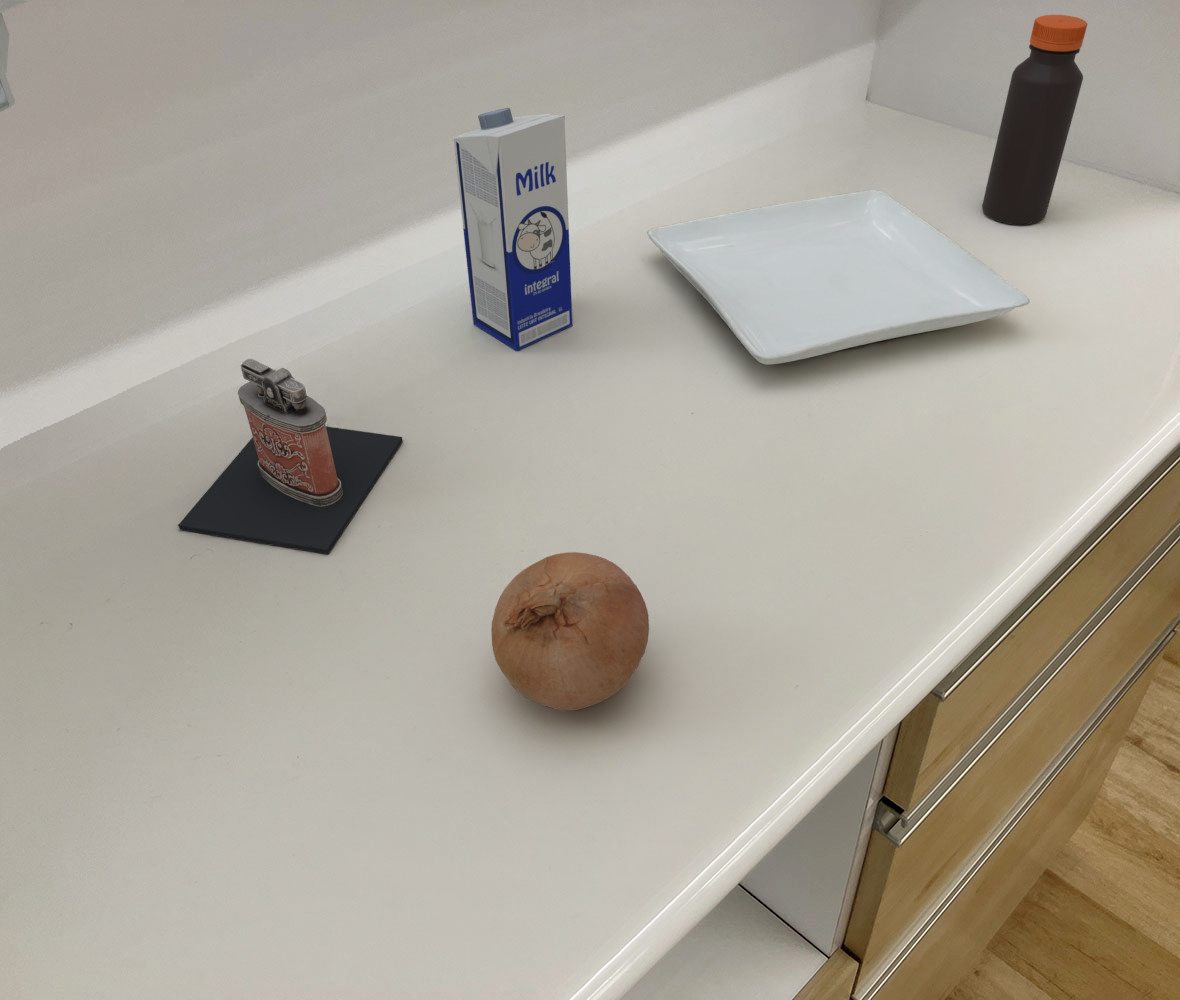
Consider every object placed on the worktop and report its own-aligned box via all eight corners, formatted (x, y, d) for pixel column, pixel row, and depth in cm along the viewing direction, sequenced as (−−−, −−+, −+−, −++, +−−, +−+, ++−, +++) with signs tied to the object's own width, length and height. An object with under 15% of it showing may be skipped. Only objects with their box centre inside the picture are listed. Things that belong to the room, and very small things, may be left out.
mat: (179, 530, 77) (177, 525, 77) (269, 422, 88) (268, 418, 87) (328, 554, 75) (327, 549, 74) (403, 441, 85) (402, 436, 85)
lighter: (353, 489, 80) (329, 378, 73) (319, 513, 78) (292, 401, 71) (283, 453, 83) (255, 344, 77) (249, 474, 81) (218, 364, 75)
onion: (553, 754, 65) (498, 711, 56) (500, 628, 69) (442, 570, 61) (689, 683, 64) (655, 628, 56) (627, 561, 69) (587, 494, 61)
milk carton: (515, 352, 95) (498, 134, 83) (471, 325, 99) (448, 113, 87) (574, 325, 99) (566, 112, 86) (529, 300, 103) (516, 92, 90)
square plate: (872, 217, 116) (877, 183, 113) (1026, 336, 96) (1037, 298, 93) (643, 257, 110) (643, 222, 107) (756, 393, 89) (759, 354, 87)
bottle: (993, 195, 119) (1037, 8, 107) (1053, 209, 116) (1106, 18, 104) (972, 216, 115) (1015, 24, 103) (1034, 231, 112) (1086, 35, 99)
